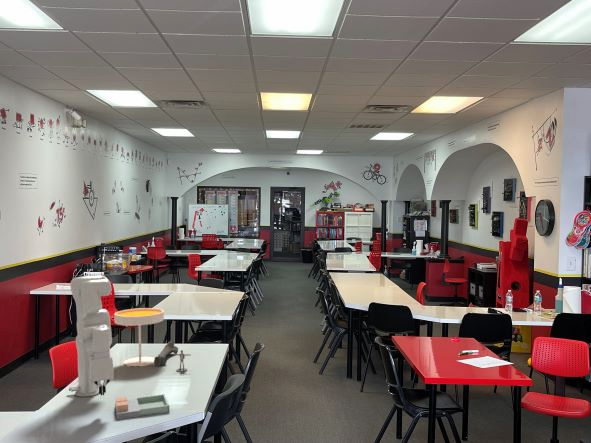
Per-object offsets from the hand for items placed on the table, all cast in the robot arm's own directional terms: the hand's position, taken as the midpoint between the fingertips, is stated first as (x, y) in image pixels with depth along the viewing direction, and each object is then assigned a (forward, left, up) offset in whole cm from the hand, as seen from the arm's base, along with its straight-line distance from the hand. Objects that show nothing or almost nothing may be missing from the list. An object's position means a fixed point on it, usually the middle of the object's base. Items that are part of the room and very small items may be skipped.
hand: (102, 394), depth 247 cm
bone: (+39, +83, -9) cm, 92 cm away
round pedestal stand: (+24, +83, -9) cm, 87 cm away
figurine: (+45, +54, -9) cm, 71 cm away
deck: (+11, -2, -9) cm, 14 cm away
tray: (+22, -2, -9) cm, 24 cm away
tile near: (+8, -5, -6) cm, 12 cm away
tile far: (+8, +1, -6) cm, 10 cm away
